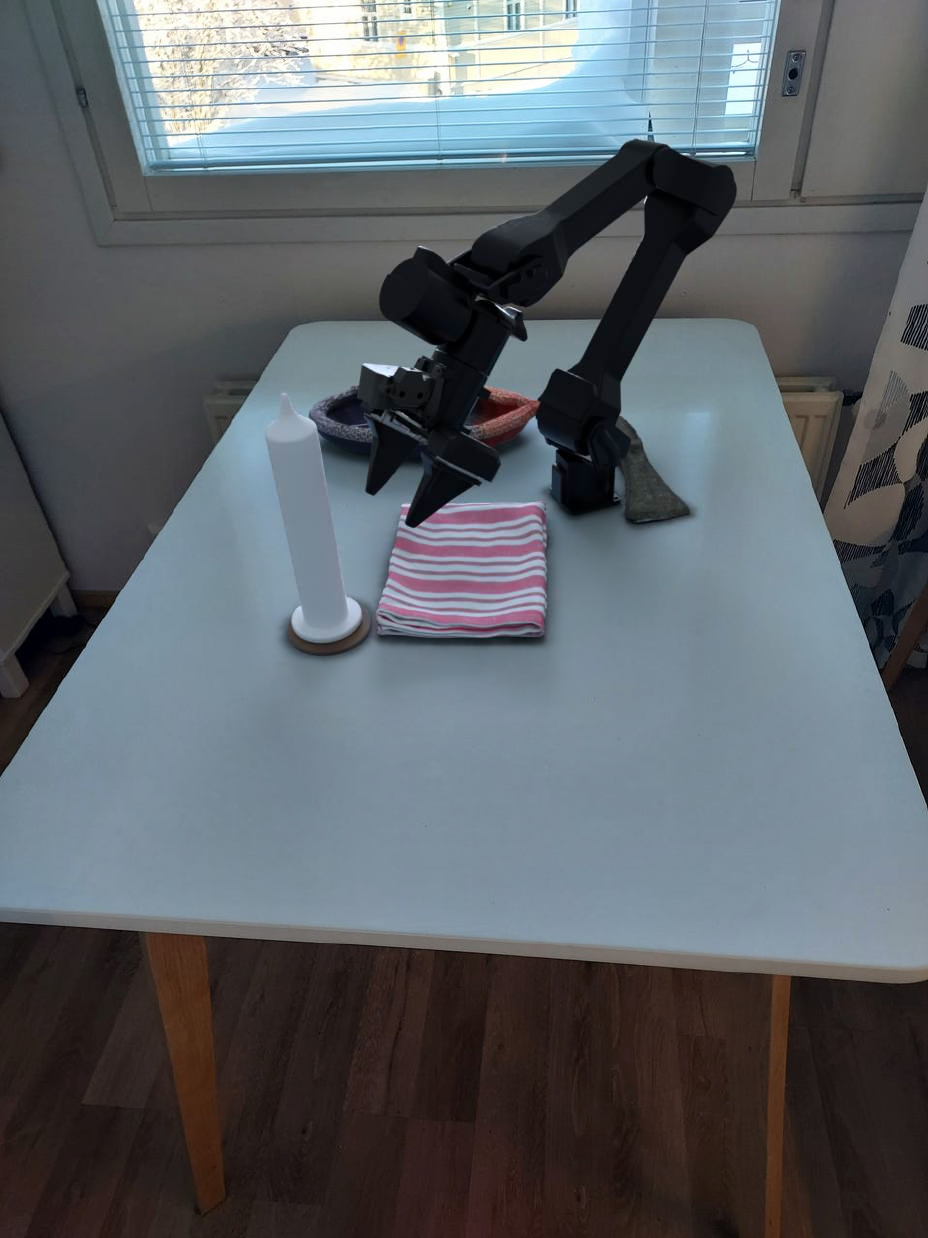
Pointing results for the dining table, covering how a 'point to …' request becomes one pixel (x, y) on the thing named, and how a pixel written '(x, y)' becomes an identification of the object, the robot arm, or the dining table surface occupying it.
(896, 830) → the dining table surface
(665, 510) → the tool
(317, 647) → the coaster
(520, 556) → the dish towel
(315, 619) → the candle
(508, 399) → the dish
